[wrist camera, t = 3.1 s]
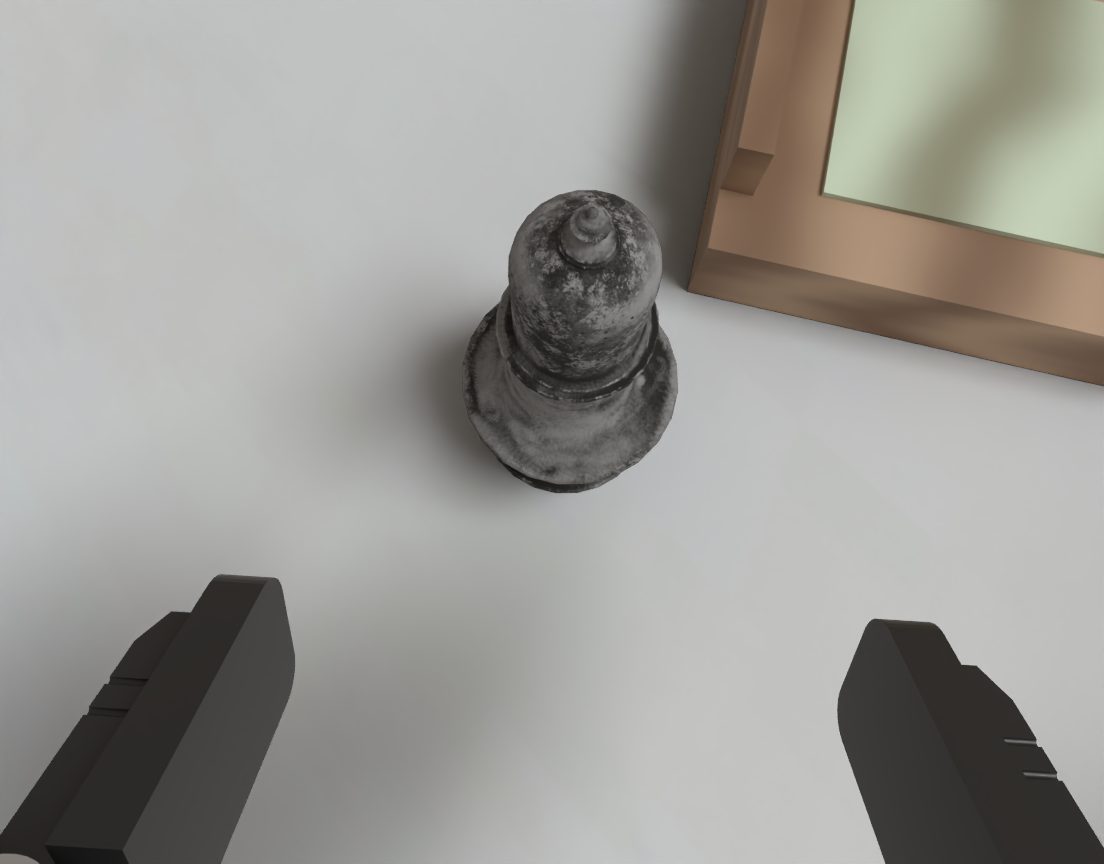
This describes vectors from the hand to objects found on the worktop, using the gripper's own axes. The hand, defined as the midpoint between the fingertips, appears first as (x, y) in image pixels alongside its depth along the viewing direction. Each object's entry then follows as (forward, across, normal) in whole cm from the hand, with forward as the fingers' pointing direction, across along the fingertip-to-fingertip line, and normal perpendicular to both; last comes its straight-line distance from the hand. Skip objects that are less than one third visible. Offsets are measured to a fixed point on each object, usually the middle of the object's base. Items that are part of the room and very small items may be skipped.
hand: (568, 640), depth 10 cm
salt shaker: (+13, 0, +4) cm, 14 cm away
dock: (+20, -12, -3) cm, 24 cm away
